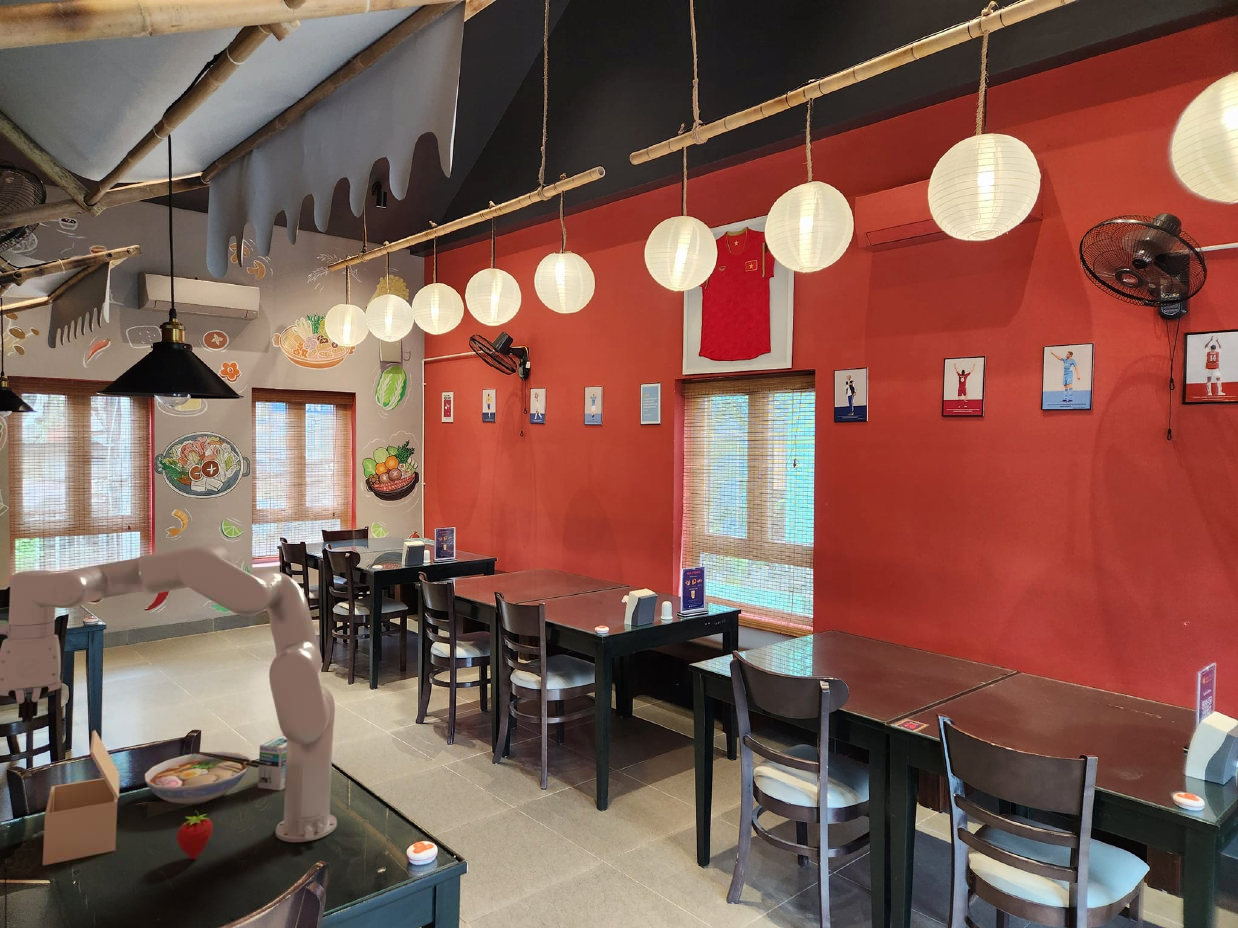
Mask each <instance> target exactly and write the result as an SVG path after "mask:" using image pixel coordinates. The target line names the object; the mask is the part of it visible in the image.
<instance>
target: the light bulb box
mask: <svg viewBox="0 0 1238 928" xmlns="http://www.w3.org/2000/svg"><path fill="white" fill-rule="evenodd" d="M286 749H287V738H286V737H285V736H284V735H283V733H281V734H280V735H277V736H276V737H274V738H272V739H270V740H268V741H266V742H264V743H262V744H259V754H258V755H259V756H258V757H259V760H258V761H262V762H265V765H259V767H258V780H257V781H258V784H257V786H258V787H257V788H258V789H265V790H266V789H267V790H272V791H273V790H274V791H281V790H282V791H283V789H285V770H286Z"/></svg>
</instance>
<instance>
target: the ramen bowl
mask: <svg viewBox="0 0 1238 928" xmlns="http://www.w3.org/2000/svg"><path fill="white" fill-rule="evenodd" d="M186 752H188V753H189V754H185V755H182V756H178V757H174V758H171V759H168V760H165V761H163V762H160V763H158V764H156V765H153V766H152V767H151V768H149V770H147V771H146V772H145V773H144V781H145V783H146V785H147V786H148V788H149V789H150V790H151V792H153V793H154V794H155V795H156V796H157V797H159V798H160V799H162V800H164V801H167V802H169V803H175V804H183V805H187V804H194V805H201V804H205V803H207V801H208V802H209V801H212V800H214V799H216V798H219V797H221V796H222V795H225V794H226V793H228V792H230V791H231V790H232V789H234V788H235V787H236V786H237V785H238V784H239V783H240V782H241V780H242V779H243V777H244V776H245V775H246V773H247V772H248V770H249V769H250V767H252V768H259V765H265V762H262V761H259V760H255V759H250V758H251V757H250V756H249V755H245V754H243V753H240V752H233V751H224V750H223V751H222V750H221V751H203V752H202V751H197V750H191V749H186ZM190 753H191V754H190ZM200 803H201V804H200Z"/></svg>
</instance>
